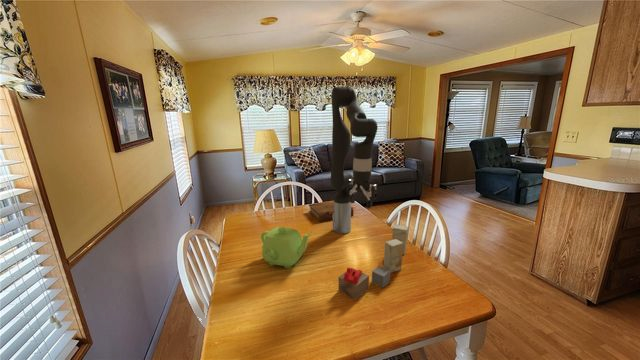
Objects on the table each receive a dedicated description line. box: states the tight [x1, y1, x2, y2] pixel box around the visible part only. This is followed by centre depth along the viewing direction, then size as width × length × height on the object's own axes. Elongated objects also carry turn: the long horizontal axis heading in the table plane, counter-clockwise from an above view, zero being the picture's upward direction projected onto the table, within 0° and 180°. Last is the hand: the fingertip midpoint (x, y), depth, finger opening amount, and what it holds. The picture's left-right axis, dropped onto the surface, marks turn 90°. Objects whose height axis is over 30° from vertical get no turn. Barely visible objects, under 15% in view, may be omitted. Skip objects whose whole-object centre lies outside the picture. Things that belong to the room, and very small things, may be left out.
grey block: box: [371, 265, 391, 289], centre depth 104 cm, size 5×5×5 cm
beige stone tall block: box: [391, 224, 409, 255], centre depth 125 cm, size 6×4×12 cm
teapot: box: [260, 226, 313, 270], centre depth 116 cm, size 25×22×16 cm
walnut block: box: [337, 267, 370, 301], centre depth 100 cm, size 8×8×6 cm
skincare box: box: [383, 239, 403, 274], centre depth 111 cm, size 6×4×12 cm
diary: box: [308, 199, 354, 223], centre depth 173 cm, size 23×19×6 cm
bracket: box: [343, 267, 363, 284], centre depth 98 cm, size 6×5×3 cm
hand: (360, 205), depth 115 cm, fingers open, 8 cm apart
